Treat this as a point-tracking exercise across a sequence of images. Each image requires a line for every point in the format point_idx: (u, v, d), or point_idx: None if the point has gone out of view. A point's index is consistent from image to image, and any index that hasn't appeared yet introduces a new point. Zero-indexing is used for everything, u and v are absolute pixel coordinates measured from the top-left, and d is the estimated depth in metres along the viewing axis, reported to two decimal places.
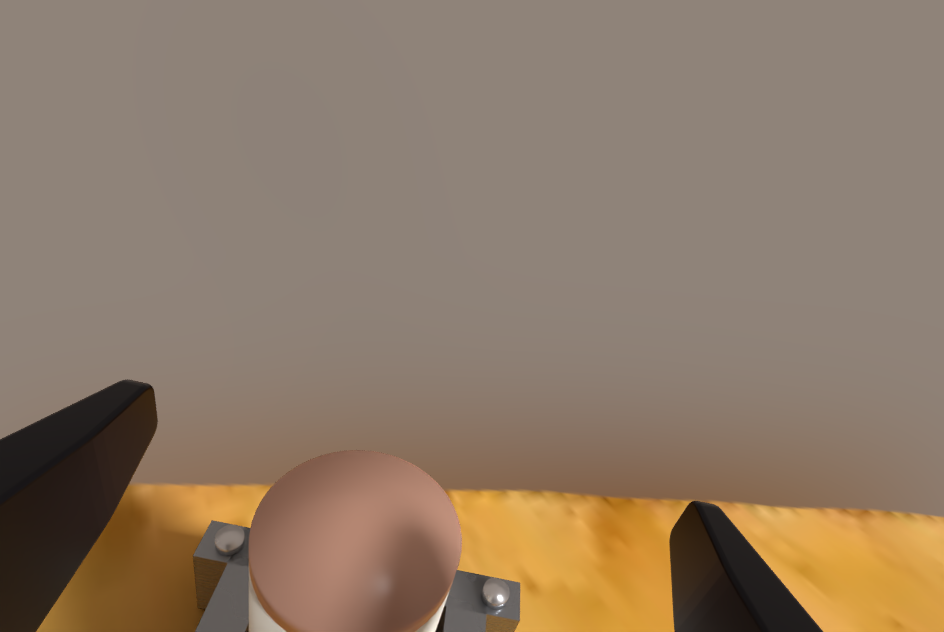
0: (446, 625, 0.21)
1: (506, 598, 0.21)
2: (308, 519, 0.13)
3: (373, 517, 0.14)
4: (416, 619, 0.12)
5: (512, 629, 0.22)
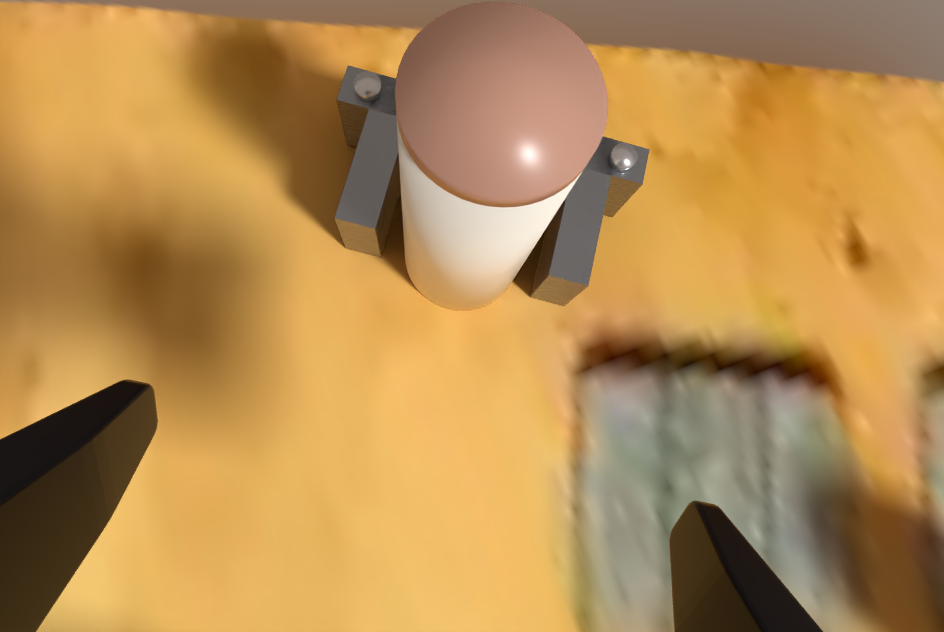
0: None
1: (633, 163, 0.22)
2: (451, 81, 0.13)
3: (517, 83, 0.13)
4: (556, 186, 0.13)
5: (633, 190, 0.23)
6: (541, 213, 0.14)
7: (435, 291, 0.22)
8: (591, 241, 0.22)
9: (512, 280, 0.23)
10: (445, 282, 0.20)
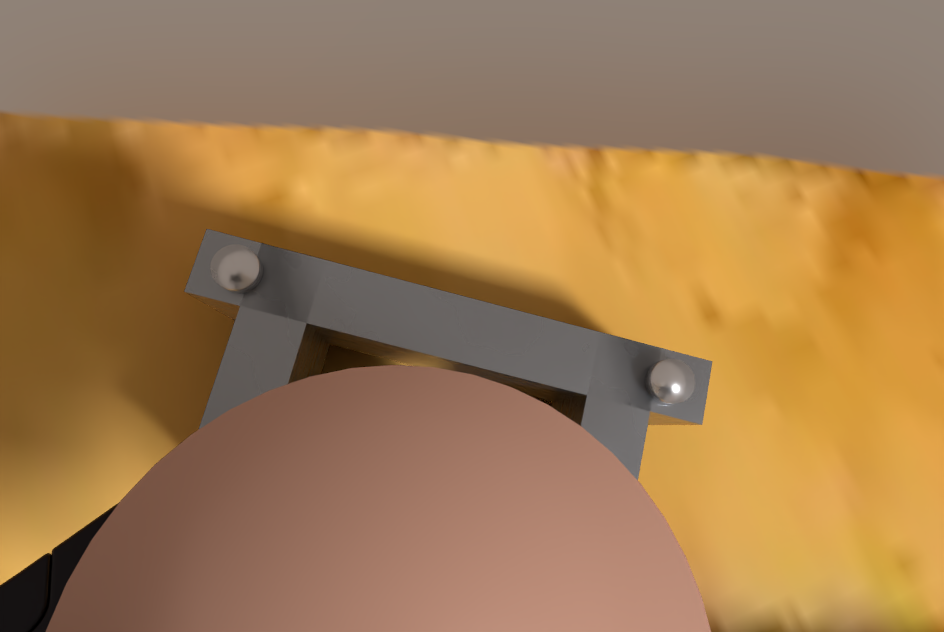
0: (584, 426, 0.13)
1: (688, 395, 0.13)
2: None
3: None
4: None
5: (684, 423, 0.14)
6: None
7: None
8: None
9: None
10: None
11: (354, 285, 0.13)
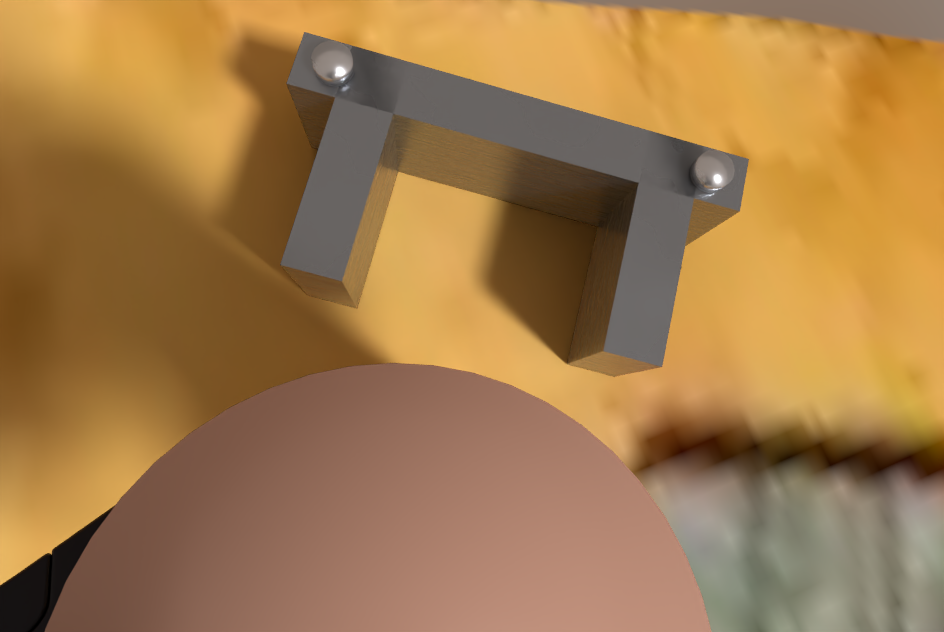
0: (636, 208, 0.15)
1: (728, 180, 0.15)
2: None
3: None
4: None
5: (722, 218, 0.16)
6: None
7: None
8: (666, 298, 0.14)
9: None
10: None
11: (434, 84, 0.15)
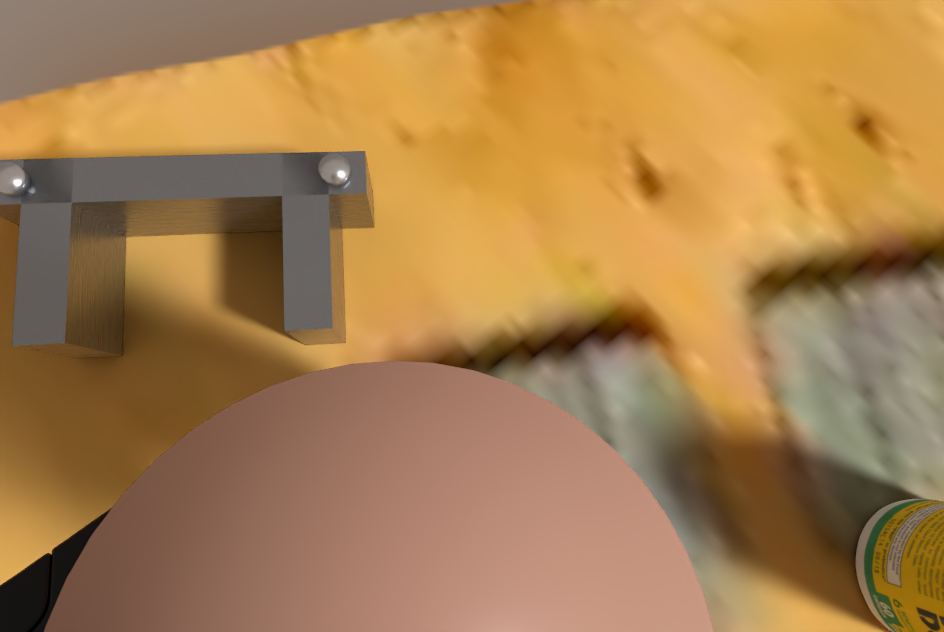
0: (285, 215, 0.19)
1: (346, 174, 0.19)
2: None
3: None
4: None
5: (365, 200, 0.20)
6: None
7: None
8: (324, 276, 0.19)
9: None
10: None
11: (98, 169, 0.19)
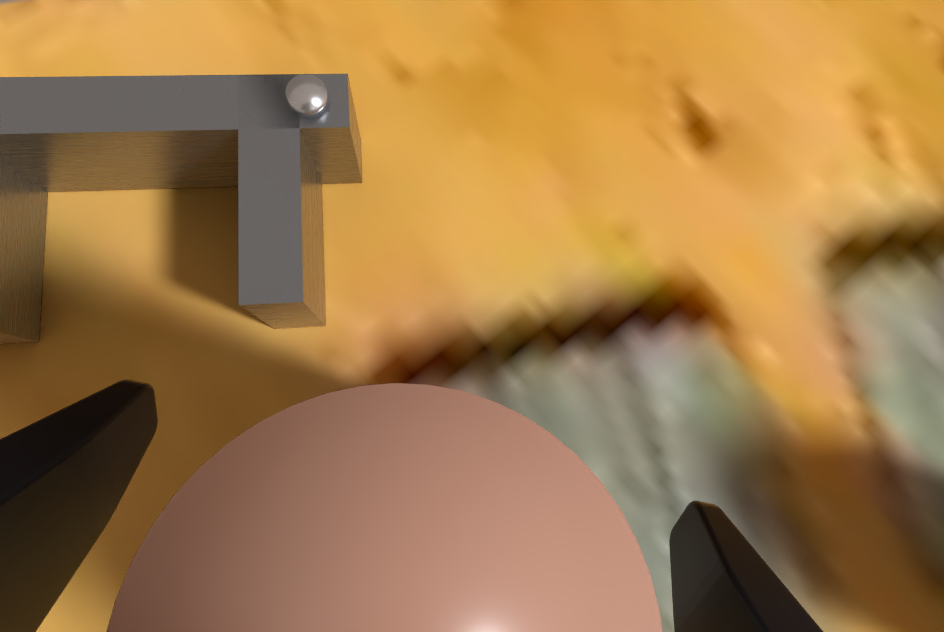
0: (241, 154, 0.14)
1: (322, 100, 0.14)
2: None
3: (431, 621, 0.05)
4: None
5: (348, 139, 0.15)
6: None
7: None
8: (292, 234, 0.14)
9: None
10: None
11: None
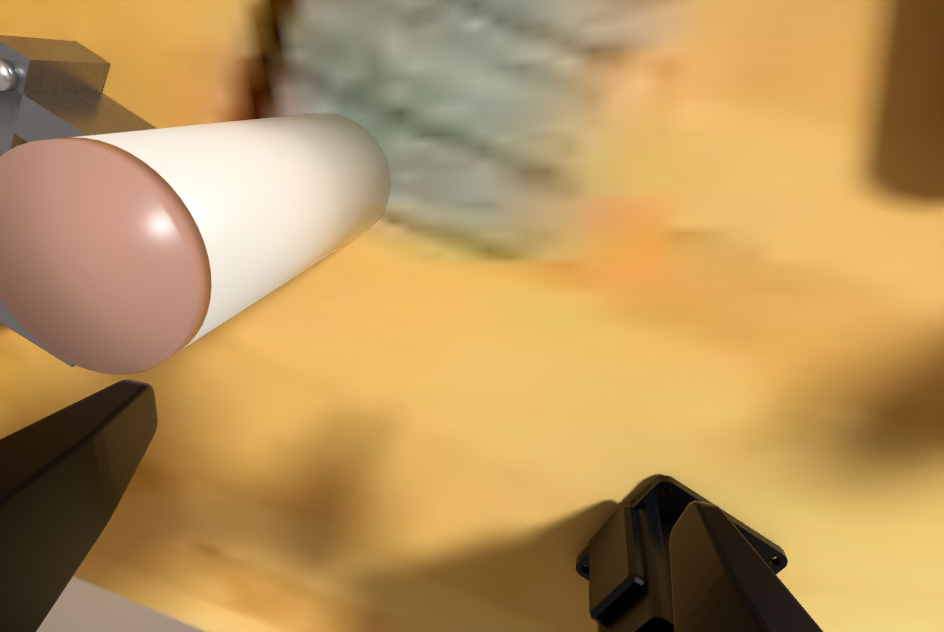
0: None
1: (2, 67, 0.19)
2: (53, 299, 0.12)
3: (72, 243, 0.11)
4: (193, 285, 0.11)
5: (46, 63, 0.20)
6: (239, 262, 0.13)
7: None
8: None
9: (372, 165, 0.20)
10: (324, 257, 0.19)
11: None
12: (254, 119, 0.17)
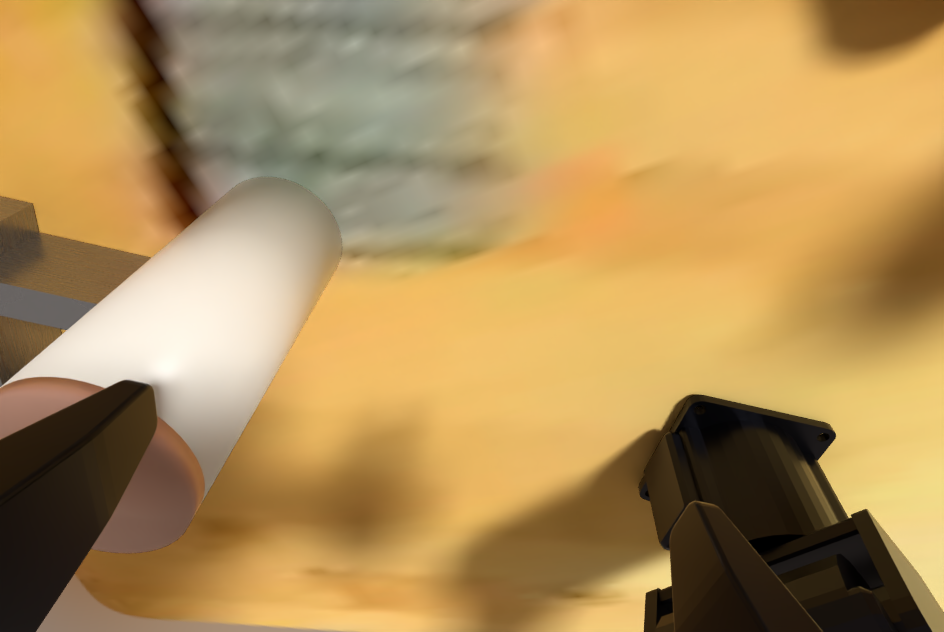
0: None
1: None
2: None
3: None
4: (179, 472, 0.12)
5: None
6: (214, 417, 0.13)
7: None
8: (51, 299, 0.20)
9: (311, 220, 0.20)
10: None
11: None
12: (180, 237, 0.17)
